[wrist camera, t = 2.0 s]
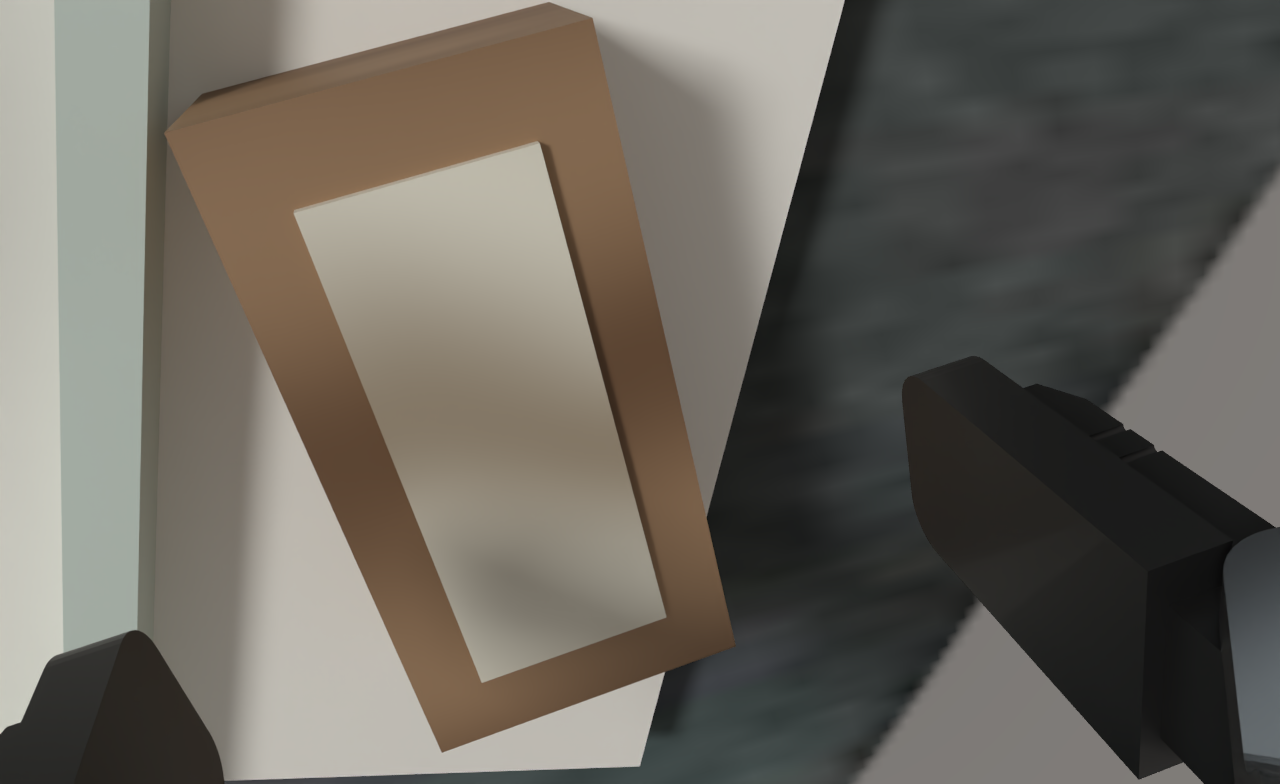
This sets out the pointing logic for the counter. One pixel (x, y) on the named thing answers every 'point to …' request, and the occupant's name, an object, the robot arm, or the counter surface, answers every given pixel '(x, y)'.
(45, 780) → the robot arm
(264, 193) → the frame
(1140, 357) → the counter surface
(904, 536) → the counter surface
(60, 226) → the wall panel
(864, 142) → the counter surface
